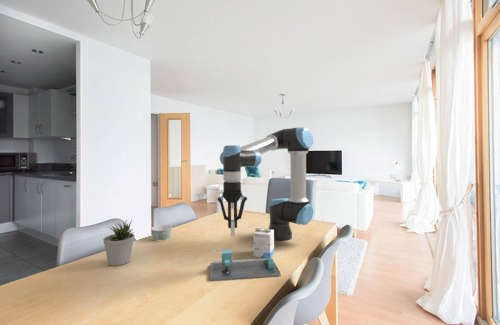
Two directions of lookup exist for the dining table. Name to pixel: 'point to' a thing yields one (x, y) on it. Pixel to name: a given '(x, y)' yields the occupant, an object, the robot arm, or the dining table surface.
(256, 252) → the ink box
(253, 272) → the bolt plate
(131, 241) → the potted plant
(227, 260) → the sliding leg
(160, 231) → the food container
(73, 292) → the dining table surface
